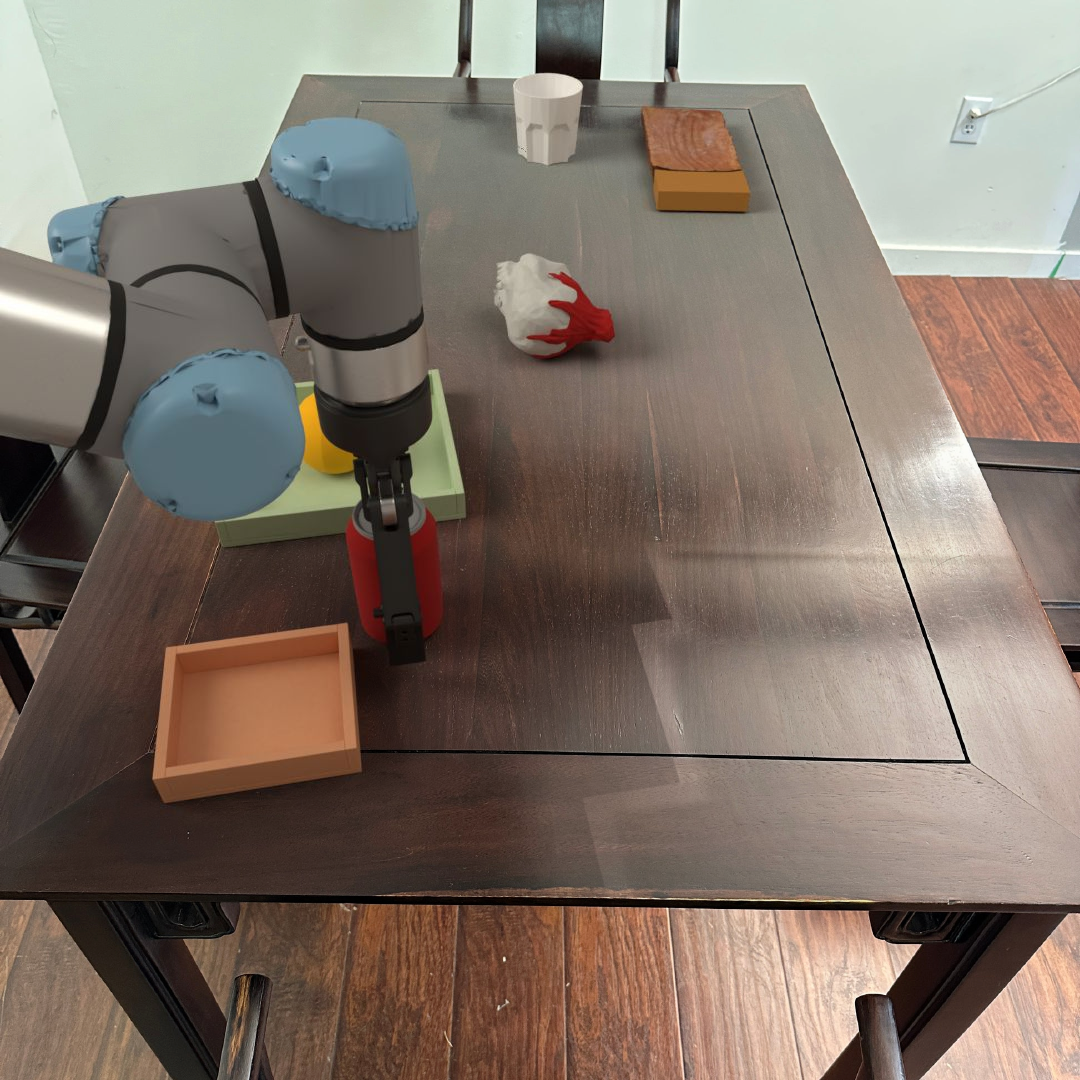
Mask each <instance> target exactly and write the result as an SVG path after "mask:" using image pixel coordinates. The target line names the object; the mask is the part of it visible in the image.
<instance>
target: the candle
mask: <svg viewBox="0 0 1080 1080" xmlns="http://www.w3.org/2000/svg"><path fill="white" fill-rule="evenodd" d="M496 266H497V270H496V273H497V277H496V279H495V282H496V284H495V288H496V289H493V294H494V295H493V299H494V305H495V307H497V308H498V309H499V311H500V312H501V313H502V315H503V316H504V319H505V323H506V329H507V336H508V340H509V341H510V342H511V343H512V344H513V345H514V346H515V347H516V348H518V350H520V351H522V352H524V353H525V354H528V355H530V356H531V357H532V358H537V359H549V358H553V357H554V358H555V357H557V356H561V355H563V354H564V353H566V352H568V351H569V350H571V349H572V348H574V347H575V346H577V345H579V344H582V343H587V342H592V341H595V342H603V343H608V344H609V343H610V342H611V341H612V340H613V339H614V338H615V337H616V331H615V325H614V320H613V319H612V315H613V314H612V313H611V311H610V310H609V309H607V308H606V309H605V308H598V307H597V306H595V305H594V304H593V303H592V301H591V300H590V298H589V297H588V295H586V293H585V292H584V290H583V288H582V287H581V285H580V284H579V283H578V282H577V281H576V280H575V279H573V278H572V275H571V272H570V270H569V268H568V267H567V265H566V264H565V263H564V262H555V261H551V260H549V259H547V258H544V257H542V256H540V255H537V254H534V253H529V252H528V253H525V254H522V255H521V256H520V259H519V261H518V262H515V261H512V260H507V261H503V262H502V261H501V262H496Z"/></svg>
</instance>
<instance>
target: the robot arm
mask: <svg viewBox="0 0 1080 1080" xmlns="http://www.w3.org/2000/svg"><path fill="white" fill-rule="evenodd" d="M407 149H408V148H407V147H406V144H405V142H404V141H403V140H402V139H401V138H400V137H399V136H398V135H397V134H396V133H395V132H394V131H393V130H392V129H390V128H388V127H387V126H385V125H383V124H380V123H377V122H375V121H372V120H368V119H364V118H357V117H345V116H344V117H339V116H338V117H337V116H336V117H324V118H316V119H312V120H308V121H307V122H306V123H305V125H298V126H297V125H296V126H291V127H288V128H287V129H285V130H284V131H282V132H281V133H280V134H279V135H278V136H277V137H276V138H275V140H274V141H273V143H272V146H271V148H270V161H271V164H270V166H269V175H265V176H264V175H263V176H257V177H254V179H253V180H252V179H251V180H246V181H241V182H233V183H227V184H226V183H225V184H220V185H219V184H218V185H212V186H203V187H197V188H189V189H182V190H173V191H167V192H166V191H165V192H159V193H152V194H144V195H136V196H129V197H126V196H124V195H115V196H112V197H111V196H110V197H108V198H107V199H106V200H105V201H99V202H94V203H90V204H86V205H81V206H76V207H72V208H67V209H63V210H61V211H58V212H56V213H55V214H54V215H53V216H52V218H51V219H50V220H49V223H48V225H47V230H46V231H47V232H46V235H47V236H46V237H47V244H48V249H49V253H50V257H51V259H52V261H48V260H46V259H42V258H38V257H35V256H32V255H28V254H25V253H22V252H19V251H15V250H12V249H8V248H6V247H2V246H0V436H4V437H8V438H13V439H19V440H24V441H28V442H33V443H39V444H44V445H50V446H55V447H59V448H64V449H70V450H74V451H80V452H85V453H89V454H93V455H98V456H101V457H102V456H103V457H107V458H113V459H117V460H123V462H124V465H125V467H126V470H128V472H129V474H131V476H132V478H133V481H134V482H135V485H136V487H138V489H139V490H140V491H141V493H142V494H143V496H145V497H146V498H148V499H149V500H150V501H151V502H153V503H154V504H155V505H158V507H160V508H162V509H164V510H166V511H168V513H169V514H171V515H173V516H176V517H179V518H181V519H185V520H190V521H196V522H211V523H212V522H214V523H215V521H223V520H229V519H235V518H239V517H243V516H246V515H249V514H251V513H254V512H256V511H258V510H260V509H262V508H264V507H265V506H267V505H268V504H270V503H272V502H273V501H274V500H275V499H277V498H278V497H279V496H280V495H281V494H282V493H283V492H284V491H285V490H286V489H287V488H288V487H289V485H290V484H291V483H292V482H293V480H294V478H295V476H296V474H297V473H298V471H300V470H301V469H300V466H301V463H302V460H303V456H304V452H305V442H306V441H305V431H304V426H303V423H302V418H301V414H300V410H299V405H298V400H297V396H296V390H297V388H296V386H295V383H296V382H295V381H294V379H293V377H292V374H291V372H290V371H289V369H288V368H287V366H286V365H285V363H284V360H283V357H282V356H281V353H280V350H279V347H278V344H277V342H276V340H275V337H274V334H273V332H272V329H271V327H270V325H269V321H275V320H280V319H284V318H289V316H292V315H299V317H300V318H299V319H300V323H301V327H302V330H303V334H304V335H303V334H302V335H298V336H296V337H295V338H294V346H295V348H296V350H297V351H299V352H301V353H302V352H307V353H308V354H307V355H308V358H307V359H308V363H309V368H310V374H311V378H312V380H313V381H314V395H315V401H316V406H317V412H318V417H319V423H320V428H321V430H322V433H323V434H324V436H325V437H326V439H327V440H328V441H329V442H330V443H332V444H333V445H334V446H336V447H337V448H339V449H341V450H344V451H346V452H349V453H353V456H354V457H357V458H358V459H353V467H354V475H355V480H356V483H357V484H358V485H359V486H360V491H361V499H362V507H363V514H364V518H365V519H366V521H368V522H370V523H371V526H372V532H373V540H374V547H375V554H376V561H377V569H378V576H379V583H380V590H381V598H382V602H381V607H377V608H373V616H374V618H381V617H383V618H382V620H383V625H384V627H385V634H386V640H387V644H386V646H387V652H388V659H389V660H388V661H389V666H390V667H396V666H397V667H398V666H403V665H410V664H417V663H425V662H427V657H426V647H425V639H424V637H423V628H422V620H423V617H422V613H421V610H420V600H419V597H418V594H417V585H416V577H415V569H414V560H413V552H412V544H411V536H410V527H409V517H411V516H412V515H413V512H414V508H413V500H412V492H411V484H410V479H411V478H412V476H413V470H412V462H411V455H410V453H405V452H407V451H408V450H409V447H410V446H412V445H413V444H415V443H416V442H418V441H419V440H420V439H421V438H422V437H423V436H424V435H425V434H426V432H427V431H428V429H429V428H430V425H431V422H432V416H433V413H432V401H431V389H430V377H429V374H428V372H429V370H430V352H429V343H428V341H429V340H428V329H427V318H426V310H425V308H424V304H423V303H424V302H423V294H422V275H421V259H420V255H421V254H420V241H419V240H420V239H419V222H420V212H419V211H418V210H417V201H416V195H415V191H414V190H415V189H414V188H415V187H414V183H413V176H412V175H413V174H412V169H411V161H410V157H409V156H410V155H409V153H408V150H407ZM367 481H368V485H367ZM402 484H403V487H402ZM368 486H369V493H370V495H371V497H372V498H369V493H368ZM403 489H404V494H402V490H403Z"/></svg>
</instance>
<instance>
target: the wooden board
mask: <svg viewBox="0 0 1080 1080" xmlns="http://www.w3.org/2000/svg"><path fill="white" fill-rule="evenodd" d="M640 109H641V115H640V120H641V121H640V122H641V127H642V131H643V137H644V141H645V147H646V156H647V161H648V165H649V170H650V175H651V180H652V181H651V182H652V185H653V188H652V190H653V191H652V192H653V197H654V202H655V207H656V210H657V211H693V212H694V211H701V212H748V210H749V204H750V198H751V190H750V188H749V185H748V182H747V178H746V175H745V172H744V170H742V169H743V168H742V165H741V163H740V161H739V157H738V153H737V151H736V146H735V144H734V143H733V139H734V137H733V136H732V135H730V131H729V129H728V127H727V126H726V119H725V117H724V114H723V112H722V111H720V110H715V109H714V110H711V109H696V108H695V109H694V108H663V107H655V106H653V107H652V106H642V107H641V108H640Z"/></svg>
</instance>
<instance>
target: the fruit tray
mask: <svg viewBox="0 0 1080 1080" xmlns="http://www.w3.org/2000/svg"><path fill="white" fill-rule="evenodd" d="M428 374H429V377H430V389H431V401H432V413H433V416H432V422H431V425H430V428H429V429H428V431H427V432H426V434H425V435H424V436H423V437H422V438H421V439H420V440H419V441H418V442H416V443H415V444H413V445H412V446H410V447H409V450H408V451H407V452H405V453H410V455H411V462H412V470H413V476H412V478H411V479H410V484H411V492H412V493H413V494H415V495H416V496H418V497H419V498H420V499H421V500H422V502H423V503H424V506H425V507H426V508H427V509H428V510H429V511H430V512H431V514H432V515H433V517H434V519H435V522H436V523H438V522H444V521H453V520H460V519H466V518H467V513H466V511H467V510H466V493H465V488H464V484H463V478H462V474H461V469H460V463H459V459H458V455H457V450H456V446H455V441H454V436H453V431H452V427H451V421H450V416H449V412H448V407H447V402H446V399H445V393H444V388H443V384H442V380H441V373H440V370H439V369H438V368H436V369H429V372H428ZM294 383H295V386H296V388H297V390H296V396H297V400H298V405H299V406H300V404H301V403H302V402H303V401H304V399H305V398H307V397H308V396H310V395H311V394H313V393H314V381H303V382H294ZM300 469H301V470H300V471H298V473H297V474H296V476H295V478H294V480H293V482H292V483H291V484H290V485H289V487H288V488H287V489H286V490H285V491H284V492H283V493H282V494H281V495H280V496H279V497H278V498H277V499H275V500H274V501H273V502H272V503H270V504H268V505H267V506H265V507H264V508H262V509H260V510H258V511H256V512H254V513H251V514H249V515H246V516H243V517H239V518H235V519H229V520H223V521H214V525H215V528H216V531H217V534H218V539H219V541H220V544H221V547H222V548H223V549H224V548H231V547H240V546H248V545H255V544H256V545H257V544H264V543H271V542H272V543H274V542H280V541H282V542H283V541H289V540H298V539H304V538H305V539H306V538H313V537H323V536H330V535H338V534H346V528H347V524H348V522H349V520H350V518H351V517H352V515H353V510H354V508H355V506H356V504H357V503H358V502H359V501H360V500H361V491H360V486H359V485H358V484H357V483H356V480H355V475H354V470H352V471H350V472H345V473H341V474H329V473H324V472H320V471H317V470H315V469H313V468H311V467H310V466H308V465H307V464H306V463H305V462H304V461H303V460H302V463H301V466H300ZM367 485H368V481H367ZM402 487H403V484H402ZM403 490H404V489H403ZM368 493H369V486H368ZM369 494H370V493H369Z"/></svg>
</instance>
